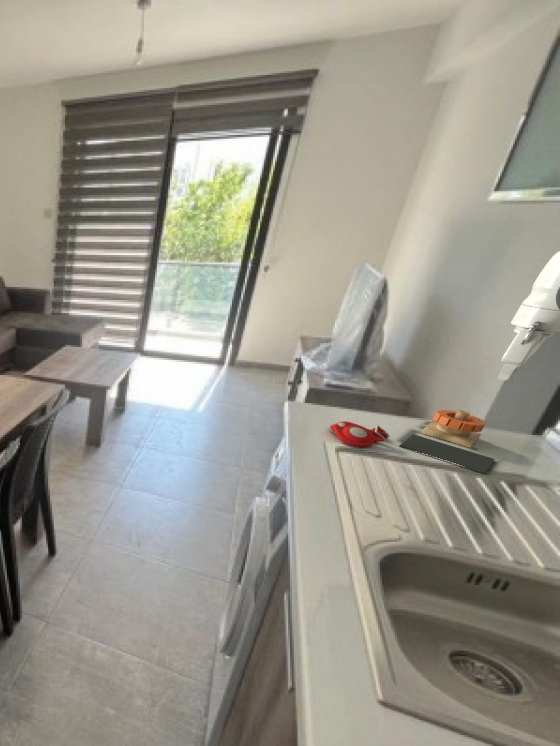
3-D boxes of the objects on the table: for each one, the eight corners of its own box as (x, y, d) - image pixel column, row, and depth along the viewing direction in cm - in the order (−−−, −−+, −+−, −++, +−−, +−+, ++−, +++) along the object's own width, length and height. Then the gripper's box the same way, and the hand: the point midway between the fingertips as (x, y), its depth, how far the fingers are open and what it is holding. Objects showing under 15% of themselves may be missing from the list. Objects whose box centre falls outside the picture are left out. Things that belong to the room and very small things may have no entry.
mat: (494, 460, 117) (495, 458, 117) (484, 474, 110) (485, 472, 110) (412, 435, 128) (413, 433, 128) (398, 446, 121) (399, 445, 121)
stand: (478, 438, 128) (493, 414, 125) (470, 448, 123) (486, 423, 119) (431, 424, 135) (444, 401, 132) (421, 433, 129) (434, 409, 126)
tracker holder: (362, 447, 117) (326, 422, 124) (352, 459, 120) (318, 434, 127) (398, 432, 120) (361, 408, 126) (388, 444, 123) (353, 420, 129)
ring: (485, 426, 126) (489, 419, 125) (477, 435, 121) (481, 428, 120) (438, 413, 133) (442, 407, 132) (429, 421, 128) (432, 414, 127)
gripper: (554, 328, 104) (516, 387, 111) (565, 318, 115) (530, 373, 122) (514, 321, 109) (479, 379, 115) (528, 312, 120) (496, 366, 126)
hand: (505, 376), depth 119 cm, fingers open, 8 cm apart
